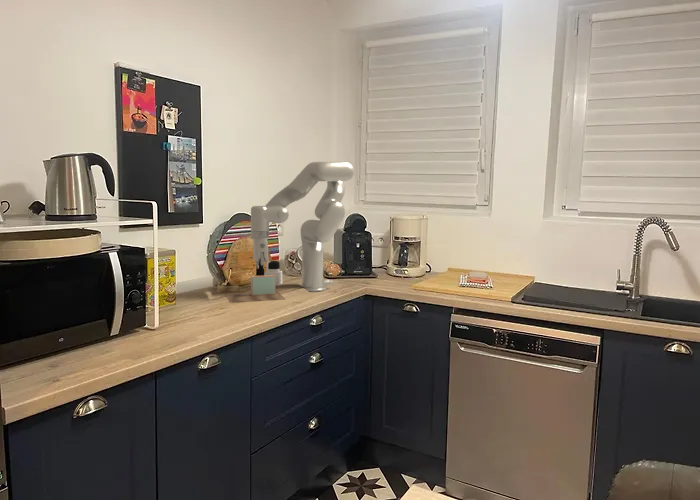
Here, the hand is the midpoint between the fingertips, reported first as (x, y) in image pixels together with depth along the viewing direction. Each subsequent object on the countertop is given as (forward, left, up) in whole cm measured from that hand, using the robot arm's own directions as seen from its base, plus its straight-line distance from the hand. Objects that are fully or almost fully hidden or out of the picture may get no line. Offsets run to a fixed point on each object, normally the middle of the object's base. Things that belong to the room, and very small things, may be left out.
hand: (260, 277), depth 223 cm
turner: (+9, -5, -8) cm, 13 cm away
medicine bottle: (-9, -16, -8) cm, 20 cm away
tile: (0, +6, -6) cm, 9 cm away
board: (+4, +9, -8) cm, 13 cm away
